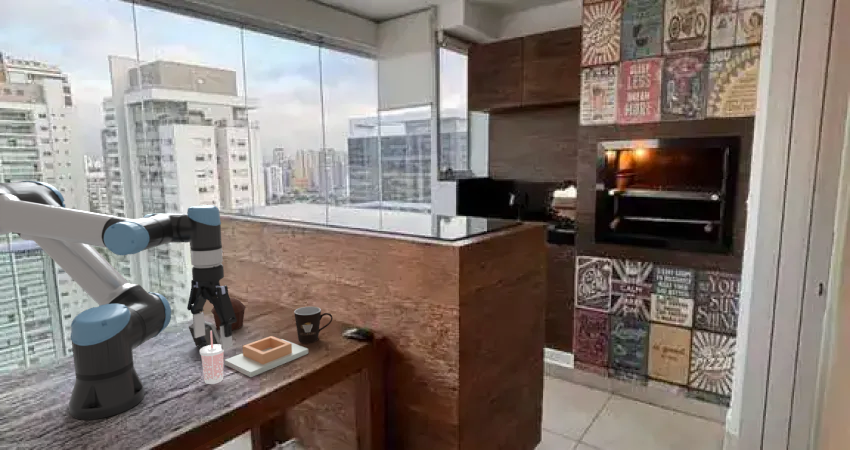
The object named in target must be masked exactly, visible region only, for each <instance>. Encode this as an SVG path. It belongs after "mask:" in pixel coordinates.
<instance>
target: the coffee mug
mask: <svg viewBox="0 0 850 450" xmlns="http://www.w3.org/2000/svg"><path fill="white" fill-rule="evenodd" d="M321 313H322V309H321V308H320V307H319V306H303V307H299V308H296V309H295V310H294V311H293V314H294V320H295V326H296V331H297V332H296V333H297V339H298V342H299V343H301V344H311V343H315V342H317V341H318V340H319V333H320V332H321V331H322V330H324V329H325V328H327V327H328V326H329V325H330V324H331V323H332V321H333V316H332V313H330V312H325V313H322V314H321ZM324 316H329V317H330V321H329V322H328V323H327V324H325V325H324V326H322V327H321V328H320V325H321V324H320V323H321V320H322V318H323V317H324Z"/></svg>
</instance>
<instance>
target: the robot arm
mask: <svg viewBox="0 0 850 450" xmlns="http://www.w3.org/2000/svg"><path fill="white" fill-rule="evenodd" d="M221 226H222V222H221V214H220V209H219V208H218V207H217V206H216V205H212V204H211V205H208V204H207V205H195V206H194V205H193V206H189V207H188V208H187V213H162V212H156V213H148V214H145V215H144V216H143V217H142V218H126V217H123V216H117V215H116V216H115V215H109V214H104V213H103V214H102V213H98V212H97V213H96V212H91V211H87V210H86V211H85V210H80V209H79V210H78V209H74V208H67V207H66V204H65V198H64V196H63V194H62V193H61V192H60V190H58V188H56V187H55V186H54V185H51V184H49V183H47V182H44V181H35V180H22V181H21V180H20V181H17V182H14V181H13V182H0V235H8V234H10V233H15V234H17V236H19V237H20V239H21V240H24V241H34V242H35V243H36V244H37V245H38V246H39V248H41V250H43V252H44V253H46V254H47V255H48V256H49V257H50V258H51V259H52V260H53V261H54V262H55V263H56V265H58V266H59V267H60V268H61V270H63V271H64V273H66V275H68V276H69V277H70V278H71V279H72V280H73V281H74V282H75V283H76V284H77V285H78V286H79V287H80V288H81V289H82V290H83V291H84V292H86V293H87V295H88V296H89V297H90V298H92V300H94V301H95V303H97V305H98V306H95V307H94V306H93V307H90V308H88V309H86V310H83V311H82V312H80V313H78V314H77V315H76V316H75V317H74V318H73V319H72V321H71V324H70V326H71V327H70V331H71V332H70V341H71V345H72V356H73V365H74V373H75V382H74V386H73V389H72V392H71V396H70V398H69V404H68V407H69V408H68V409H69V414H70V416H72V417H73V418H74V419H77V420H99V419H104V418H108V417H112V416H116V415H118V414H119V415H120V414H121V413H123V412H126V411H128V410H131V409H132V408H134V407H135V406H137V405H139V404H140V403H141V402H142V401H143V399H144V398H145V387H144V384H143V382H142V380H141V378H140V376H139V375H138V373H137V370H136V369H135V365H134V354H133V353H134V352H133V350H134V349H136V348H138V347H139V346H141V345H143V344H144V343H146V342H148V341H149V340H151V339H153V338H155V337H157V336H159V335H160V334H161V333H162V332H163V331H164V330H165V329H166V328H167V327H168V326H169V324H170V322H171V320H172V308H171V305H170V302H169V301H168V299H167V297H165V296H164V295H163V294H161V293H158V292H154V291H153V292H152V291H146V289H144V287H143V286H142V285H140V284H137V283H130V282H128V281H127V279H126V278H125V277H124V276H122V274H121V273H120V272H119V271H117V269H116V268H115V267H113V265H112V264H110V263H109V261H108V260H107V259H106V258H105V257H104V256H102V254H100V253H99V251H98V250H97V249H96V248H94V246H95V247H102V248H107V249H108V250H109V251H110V252H112V253H113V254H115V255H118V256H128V255H135V254H138V253H140V252H143V251H145V250H149V249H152V248H155V247H156V248H157V247H160V246H163V245H166V244H170V243H172V244H173V243H189V247H190V248H189V249H190V262H191V263H190V264H191V266H192V267H191V276H192V277H191V278H192V279H191V281H190V282H191V283H190V286H191V287H190V292H189V297H188V302H187V308H186V309H187V310H188V311H190V313H191V314H192V324H193V327H194V338H198V337H201V336H204V335H205V324H204V321H205V315H204V311H205V310H204V306H205V304H206V302H207V301H208V302H209V304H212V305H213V307H214V308H215V310H216V313H217V315H218V317H219V319H220V321H221V324H220V325H219V326H220V330H219V334H220V342H221V349H222V350H224V351H225V350H227V349H230V348H233V346H234V344H233V333H232V332H233V330H232V326H231V325H232V323H235V322H237V319H236V316H235V313H234V310H233V306H232V303H231V300H230V298H231V297H230V294H229V288H228V287H229V286H228V285H227V284H226V285H221V283H220V281H221V280H222V279H223V278H224V277H225V273H224V271H225V270H224V264H223V260H224V259H223V258H224V256H223V252H224V250H223V245H222V227H221ZM224 319H225V320H224Z"/></svg>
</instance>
